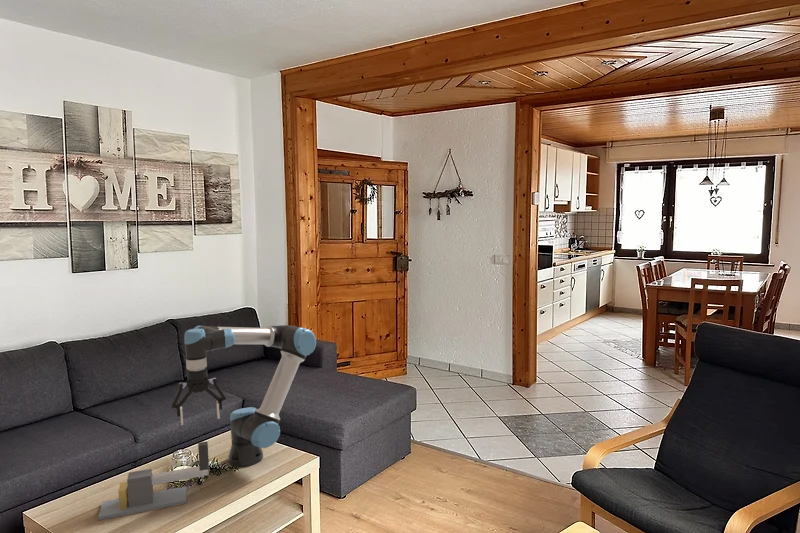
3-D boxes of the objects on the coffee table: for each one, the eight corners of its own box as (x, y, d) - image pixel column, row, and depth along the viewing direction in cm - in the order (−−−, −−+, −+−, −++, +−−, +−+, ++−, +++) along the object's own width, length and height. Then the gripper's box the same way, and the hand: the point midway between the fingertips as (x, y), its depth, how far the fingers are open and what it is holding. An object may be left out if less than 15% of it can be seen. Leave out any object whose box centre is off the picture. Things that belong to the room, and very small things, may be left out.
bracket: (186, 488, 221) (184, 460, 220) (186, 503, 210) (184, 472, 209) (103, 504, 210) (100, 474, 209) (98, 520, 199) (95, 488, 198)
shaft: (209, 471, 219) (207, 441, 218) (209, 475, 216) (207, 444, 215) (137, 484, 210) (134, 452, 209) (136, 488, 207) (133, 456, 206)
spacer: (129, 499, 211) (127, 481, 210) (127, 508, 204) (125, 490, 204) (121, 500, 210) (120, 482, 210) (119, 509, 204) (118, 491, 203)
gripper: (229, 362, 223) (232, 412, 225) (162, 370, 213) (166, 423, 215) (230, 366, 216) (234, 418, 218) (162, 375, 206) (166, 429, 209)
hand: (200, 420), depth 217 cm, fingers open, 13 cm apart
